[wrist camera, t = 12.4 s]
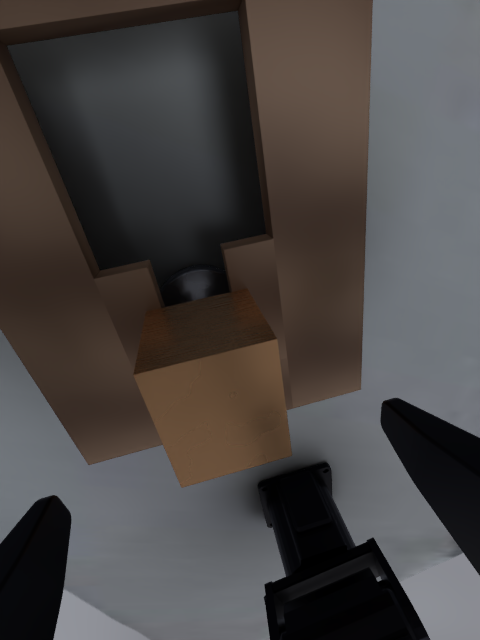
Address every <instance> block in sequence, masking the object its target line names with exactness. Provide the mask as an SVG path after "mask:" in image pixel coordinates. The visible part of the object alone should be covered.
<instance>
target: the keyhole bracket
mask: <svg viewBox="0 0 480 640" xmlns="http://www.w3.org/2000/svg"><path fill="white" fill-rule="evenodd" d="M372 5H373V0H0V329H1V330H2V332H3V333H4V335H5V337H6V338H7V340H8V341H9V343H10V344H11V346H12V347H13V349H14V350H15V352H16V354H17V355H18V357H19V358H20V360H21V361H22V363H23V364H24V366H25V367H26V369H27V371H28V372H29V374H30V375H31V377H32V378H33V380H34V381H35V383H36V384H37V386H38V388H39V389H40V391H41V392H42V394H43V395H44V397H45V398H46V400H47V401H48V403H49V405H50V406H51V408H52V409H53V411H54V412H55V414H56V415H57V417H58V418H59V420H60V422H61V423H62V425H63V426H64V428H65V429H66V431H67V432H68V434H69V435H70V437H71V439H72V440H73V442H74V443H75V445H76V446H77V448H78V449H79V451H80V452H81V454H82V456H83V457H84V459H85V460H86V462H87V463H88V465H91V464H94V463H98V462H102V461H105V460H109V459H112V458H116V457H120V456H123V455H127V454H130V453H134V452H138V451H141V450H145V449H148V448H152V447H156V446H159V445H163V443H162V441H161V439H160V436H159V434H158V432H157V429H156V427H155V425H154V422H153V420H152V418H151V415H150V413H149V411H148V408H147V406H146V404H145V401H144V399H143V397H142V394H141V392H140V390H139V387H138V385H137V383H136V381H135V378H134V376H133V373H134V369H135V364H136V359H137V354H138V349H139V344H140V339H141V334H142V329H143V324H144V319H145V314H146V312H147V311H151V310H155V309H159V308H164V307H165V305H164V302H163V299H162V296H161V293H160V290H159V287H158V284H157V281H156V278H155V275H154V271H153V268H152V265H151V262H150V260H146V261H141V262H137V263H132V264H128V265H123V266H119V267H114V268H110V269H105V270H101V271H100V269H99V267H98V264H97V262H96V260H95V257H94V255H93V252H92V250H91V248H90V245H89V243H88V240H87V238H86V235H85V233H84V231H83V228H82V226H81V223H80V221H79V219H78V216H77V214H76V211H75V209H74V207H73V204H72V202H71V199H70V197H69V195H68V192H67V190H66V187H65V185H64V183H63V180H62V178H61V175H60V173H59V171H58V168H57V166H56V163H55V161H54V158H53V156H52V154H51V151H50V149H49V146H48V144H47V142H46V139H45V137H44V134H43V132H42V130H41V127H40V125H39V122H38V120H37V118H36V115H35V113H34V110H33V108H32V106H31V103H30V101H29V98H28V96H27V93H26V91H25V89H24V86H23V84H22V81H21V79H20V77H19V74H18V72H17V69H16V67H15V65H14V62H13V60H12V57H11V55H10V53H9V50H8V48H7V46H8V45H15V44H21V43H28V42H35V41H41V40H48V39H54V38H61V37H68V36H74V35H81V34H87V33H94V32H101V31H107V30H114V29H120V28H127V27H133V26H140V25H147V24H153V23H160V22H166V21H173V20H180V19H186V18H193V17H199V16H206V15H213V14H219V13H226V12H232V11H238V16H239V24H240V32H241V40H242V47H243V55H244V63H245V71H246V79H247V87H248V95H249V102H250V110H251V118H252V126H253V134H254V142H255V149H256V157H257V165H258V173H259V181H260V189H261V197H262V204H263V212H264V220H265V228H266V234H263V235H258V236H254V237H249V238H245V239H240V240H236V241H231V242H227V243H222V244H220V246H221V251H222V256H223V261H224V266H225V271H226V275H227V280H228V285H229V290H230V292H233V291H237V290H241V289H245V288H247V289H248V291H249V292H250V294H251V296H252V297H253V299H254V301H255V302H256V304H257V306H258V307H259V309H260V311H261V312H262V314H263V316H264V317H265V319H266V321H267V322H268V324H269V326H270V327H271V329H272V331H273V332H274V334H275V336H276V338H277V340H278V348H279V356H280V364H281V372H282V380H283V388H284V396H285V404H286V410H289V409H292V408H296V407H300V406H303V405H307V404H310V403H314V402H318V401H321V400H325V399H328V398H332V397H336V396H339V395H343V394H346V393H350V392H354V391H357V390H361V368H362V335H363V302H364V269H365V236H366V203H367V170H368V137H369V104H370V71H371V38H372Z"/></svg>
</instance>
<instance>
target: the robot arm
mask: <svg viewBox="0 0 480 640" xmlns="http://www.w3.org/2000/svg"><path fill="white" fill-rule="evenodd" d="M380 421H381V426H382V429H383V431H384V432H385V434H386V436H387V438H388V439H389V441H390V443H391V445H392V446H393V448H394V450H395V451H396V453H397V455H398V457H399V458H400V460H401V462H402V464H403V465H404V467H405V469H406V471H407V472H408V474H409V476H410V477H411V479H412V480H413V482H414V483H415V485H416V486H417V488H418V489H419V491H420V492H421V494H422V495H423V496H424V498H425V499H426V501H427V502H428V503H429V505H430V506H431V508H432V509H433V510H434V512H435V513H436V515H437V516H438V518H439V519H440V520H441V522H442V523H443V525H444V526H445V527H446V529H447V530H448V532H449V533H450V534H451V536H452V537H453V539H454V540H455V541H456V543H457V544H458V546H459V547H460V548H461V550H462V551H463V553H464V554H465V555H466V557H467V558H468V560H469V561H470V562H471V564H472V565H473V567H474V568H475V569H476V571H477V572H478V573H479V575H480V438H479V437H477V436H475V435H473V434H471V433H469V432H467V431H464V430H462V429H460V428H458V427H456V426H454V425H452V424H450V423H448V422H446V421H444V420H442V419H440V418H438V417H436V416H434V415H432V414H430V413H428V412H426V411H424V410H422V409H420V408H418V407H416V406H414V405H411V404H409V403H407V402H405V401H403V400H401V399H399V398H392V399H389V400H385V401H383V403H382V407H381V420H380ZM258 489H259V494H260V498H261V502H262V506H263V511H264V515H265V519H266V523H267V526H268V527H269V528H272V527H273V530H274V533H275V537H276V541H277V544H278V548H279V552H280V555H281V559H282V563H283V566H284V570H285V574H286V577H284V578H282V579H280V580H277V581H275V582H273V583H272V581H271V582H269V583H266V584H265V592H266V595H265V597H264V600H265V605H266V612H267V619H268V627H269V635H270V640H430V638H429V636H428V634H427V632H426V630H425V628H424V626H423V624H422V622H421V620H420V619H419V616H418V615H417V613H416V611H415V610H414V607H413V605H412V604H411V602H410V600H409V598H408V596H407V595H406V593H405V591H404V590H403V588H402V586H401V584H400V583H399V581H398V579H397V577H396V576H395V574H394V572H393V571H392V569H391V567H390V565H389V564H388V562H387V560H386V558H385V557H384V555H383V553H382V552H381V550H380V548H379V546H378V545H377V543H376V541H375V539H374V538H371V539H369V540H367V542H366V543H363V544H361V545H359V546H355V544H354V542H353V540H352V537H351V535H350V533H349V531H348V529H347V527H346V525H345V523H344V521H343V519H342V517H341V514H340V512H339V510H338V508H337V506H336V504H335V502H334V500H333V498H332V477H331V468H330V466H329V464H328V463H323V464H320V465H317V466H313V467H310V468H307V469H303V470H300V471H297V472H293V473H290V474H286V475H283V476H280V477H276V478H273V479H270V480H266V481H263V482H261V483H259V485H258ZM70 529H71V514H70V512H69V510H68V509H67V508H66V506H65V505H64V504H63V503H62V501H61V500H60V499H59V498H58V497H57V496H55V495H52V496H48V497H45V498H41V499H39V500H37V501H36V502H35V503H34V504H33V505H32V507H31V508H30V509H29V510H28V511H27V512H26V514H25V515H24V516H23V517H22V518H21V520H20V521H19V522H18V523H17V524H16V526H15V527H14V528H13V529H12V530H11V532H10V533H9V534H8V535H7V536H6V538H5V539H4V540H3V541H2V542H1V544H0V640H53V638H54V633H55V628H56V624H57V619H58V614H59V609H60V604H61V599H62V594H63V588H64V581H65V573H66V564H67V555H68V546H69V538H70ZM379 576H380V577H381V579H382V580H381V581H379V582H377V580H376V578H377V577H379Z"/></svg>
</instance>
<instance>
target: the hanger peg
mask: <svg viewBox="0 0 480 640" xmlns="http://www.w3.org/2000/svg"><path fill="white" fill-rule="evenodd" d="M160 293H161V296H162V299H163V302H164V305H165V307H164V308H159V309H155V310H151V311H147V312H146V314H145V319H144V324H143V329H142V334H141V339H140V344H139V349H138V354H137V359H136V364H135V369H134V373H133V376H134V378H135V381H136V383H137V385H138V387H139V390H140V392H141V394H142V397H143V399H144V401H145V404H146V406H147V408H148V411H149V413H150V415H151V418H152V420H153V422H154V425H155V427H156V429H157V432H158V434H159V436H160V439H161V441H162V443H163V446H164V448H165V450H166V453H167V455H168V457H169V460H170V462H171V464H172V467H173V469H174V471H175V474H176V476H177V478H178V481H179V483H180V485H181V487H182V488H183V487H186V486H189V485H193V484H196V483H200V482H203V481H207V480H210V479H214V478H217V477H221V476H224V475H227V474H231V473H234V472H238V471H241V470H245V469H248V468H252V467H255V466H259V465H262V464H265V463H269V462H272V461H276V460H279V459H283V458H286V457H290V456H292V451H291V443H290V435H289V427H288V419H287V411H286V404H285V396H284V388H283V380H282V372H281V364H280V356H279V348H278V340H277V338H276V336H275V334H274V332H273V331H272V329H271V327H270V326H269V324H268V322H267V321H266V319H265V317H264V316H263V314H262V312H261V311H260V309H259V307H258V306H257V304H256V302H255V301H254V299H253V297H252V296H251V294H250V292H249V291H248V289H247V288H245V289H241V290H237V291H233V292H230V290H229V285H228V280H227V275H226V271H224V270H223V269H220V268H217V267H214V266H208V265H196V266H191V267H187V268H184V269H182V270H180V271H178V272H176V273H175V274H173V275H172V276H171V277H170V278H169V279H168V280H167V281H166V282H165V283H164V285H163V286H162V288H161V290H160Z"/></svg>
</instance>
